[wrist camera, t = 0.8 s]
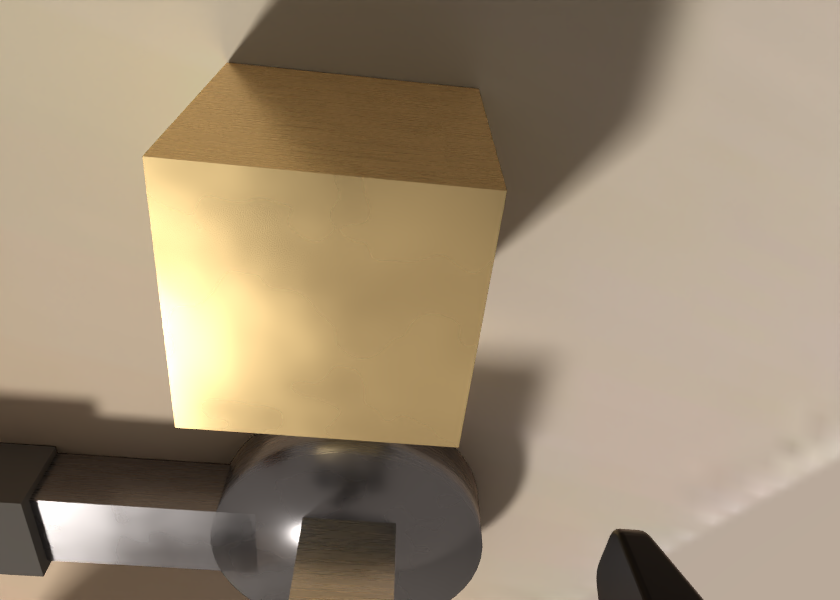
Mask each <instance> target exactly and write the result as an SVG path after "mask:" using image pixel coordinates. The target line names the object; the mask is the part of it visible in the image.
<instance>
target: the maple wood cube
mask: <svg viewBox="0 0 840 600" xmlns="http://www.w3.org/2000/svg"><path fill="white" fill-rule="evenodd" d="M142 157H143V165H144V174H145V182H146V190H147V198H148V207H149V215H150V223H151V232H152V240H153V248H154V256H155V265H156V273H157V281H158V290H159V298H160V306H161V314H162V323H163V331H164V339H165V348H166V356H167V364H168V372H169V381H170V389H171V397H172V406H173V414H174V422H175V428H189V429H203V430H217V431H231V432H245V433H260V434H274V435H288V436H302V437H316V438H330V439H344V440H358V441H372V442H386V443H401V444H415V445H429V446H443V447H457V448H459V443H460V438H461V432H462V427H463V422H464V416H465V411H466V406H467V400H468V395H469V390H470V385H471V379H472V374H473V369H474V363H475V358H476V353H477V347H478V342H479V337H480V332H481V326H482V321H483V316H484V310H485V305H486V300H487V294H488V289H489V284H490V278H491V273H492V268H493V263H494V257H495V252H496V247H497V241H498V236H499V231H500V225H501V220H502V215H503V210H504V204H505V199H506V194H507V189H506V186H505V182H504V178H503V175H502V171H501V168H500V164H499V160H498V157H497V153H496V150H495V146H494V142H493V139H492V135H491V132H490V128H489V124H488V121H487V117H486V114H485V110H484V106H483V103H482V99H481V95H480V92H479V89H475V88H466V87H456V86H447V85H437V84H428V83H418V82H408V81H399V80H389V79H380V78H370V77H361V76H351V75H342V74H332V73H322V72H313V71H303V70H294V69H284V68H275V67H265V66H255V65H246V64H236V63H226V64H225V65H224V66H223V68H222V69H221V70H220V71H219V72H218V73H217V74H216V75H215V76H214V78H213V79H212V80H211V81H210V82H209V83H208V84H207V85H206V86H205V87H204V89H203V90H202V91H201V92H200V93H199V94H198V95H197V96H196V97H195V99H194V100H193V101H192V102H191V103H190V104H189V105H188V106H187V107H186V109H185V110H184V111H183V112H182V113H181V114H180V115H179V116H178V117H177V119H176V120H175V121H174V122H173V123H172V124H171V125H170V126H169V127H168V129H167V130H166V131H165V132H164V133H163V134H162V135H161V136H160V137H159V138H158V140H157V141H156V142H155V143H154V144H153V145H152V146H151V147H150V148H149V150H148V151H147V152H146V153H145V154H144V155H143V156H142Z"/></svg>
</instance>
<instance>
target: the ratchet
mask: <svg viewBox="0 0 840 600" xmlns="http://www.w3.org/2000/svg"><path fill="white" fill-rule="evenodd" d="M481 553H482V535H481V525H480V515H479V505H478V495H477V487H476V483H475V479H474V476H473V474H472V472H471V470H470V468H469V466H468V464H467V463H466V461H465V460H464V458H463V457H462V455H461V454H460V453H459V452H458V451H457V450H456V449H455V448H454V447H443V446H429V445H415V444H401V443H386V442H372V441H358V440H344V439H330V438H316V437H302V436H288V435H274V434H260V433H257V434H256V435H255V436H253V437H252V438H251V439H249V440H248V441H247V442H246V443H245V445H244V446H243V447H242V448H241V449H240V450H239V451H238V453H237V454H236V456H235V457H234V459H233V460H232V462H231V464H230V465H224V464H209V463H194V462H179V461H165V460H150V459H135V458H121V457H106V456H91V455H76V454H62V453H57V452H56V448H55V447H51V446H36V445H22V444H7V443H0V574H8V575H26V576H44V574H45V573H46V571H47V569H48V567H49V565H50V563H51V561H64V562H82V563H99V564H116V565H133V566H150V567H168V568H185V569H202V570H219V571H222V573H223V575H224V576H225V577H226V578H227V579H228V581H229V582H230V583H231V584H232V585H233V586H234V587H235V588H236V589H237V590H239V591H240V592H241V593H242V594H243V595H245V596H246V597H247V598H249V599H250V600H451V599H452V598H454V597H455V596H456V595H457V594H458V593H459V592H460V591H462V590H463V589H464V588H465V586H466V585H467V584H468V583H469V581H470V580H471V579H472V577H473V575H474V573H475V572H476V570H477V568H478V565H479V562H480V559H481Z"/></svg>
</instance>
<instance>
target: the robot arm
mask: <svg viewBox="0 0 840 600" xmlns="http://www.w3.org/2000/svg"><path fill="white" fill-rule="evenodd" d="M597 590H598V599H599V600H703V599H702V597H701V596H700V595H699V594H698V593H697V591H696V590H695V589H694V588H693V587H692V585H691V584H690V583H689V582H688V581H687V580H686V578H685V577H684V576H683V575H682V574H681V572H680V571H679V570H678V569H677V568H676V567H675V565H674V564H673V563H672V562H671V560H670V559H669V558H668V557H667V556H666V555H665V553H664V552H663V551H662V550H661V549H660V547H659V546H658V545H657V544H656V543H655V541H654V540H653V539H652V538H651V537H650V536H649V535H648V534H647V533H645V532H644V531H640V530H629V529H616V530H614V531H613V532H612V534H611V535H610V538H609V540H608V543H607V545H606V547H605V550H604V552H603V555H602V557H601V560H600V562H599V565H598V569H597Z"/></svg>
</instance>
